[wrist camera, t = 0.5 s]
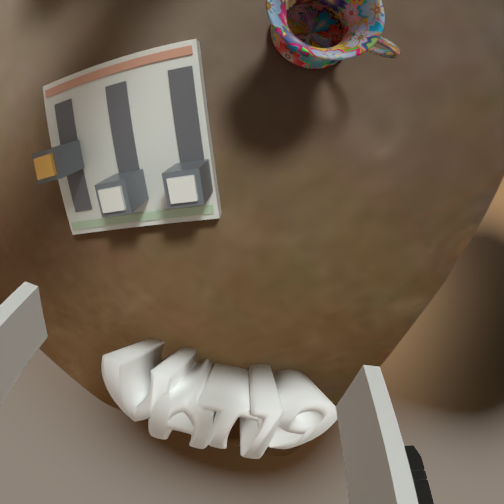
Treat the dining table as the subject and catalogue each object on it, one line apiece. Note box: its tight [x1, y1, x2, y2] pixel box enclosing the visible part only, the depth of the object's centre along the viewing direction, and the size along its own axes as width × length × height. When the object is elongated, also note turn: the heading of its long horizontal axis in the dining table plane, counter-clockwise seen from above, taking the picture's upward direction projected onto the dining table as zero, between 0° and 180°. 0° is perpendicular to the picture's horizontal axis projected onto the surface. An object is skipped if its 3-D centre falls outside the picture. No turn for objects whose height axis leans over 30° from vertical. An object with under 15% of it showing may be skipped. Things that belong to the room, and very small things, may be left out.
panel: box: [43, 39, 222, 235], centre depth 30 cm, size 20×20×7 cm
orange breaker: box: [32, 140, 84, 185], centre depth 30 cm, size 4×4×6 cm
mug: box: [266, 0, 400, 69], centre depth 23 cm, size 12×9×11 cm
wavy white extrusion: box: [101, 338, 337, 459], centre depth 45 cm, size 35×16×11 cm, turn 73°
